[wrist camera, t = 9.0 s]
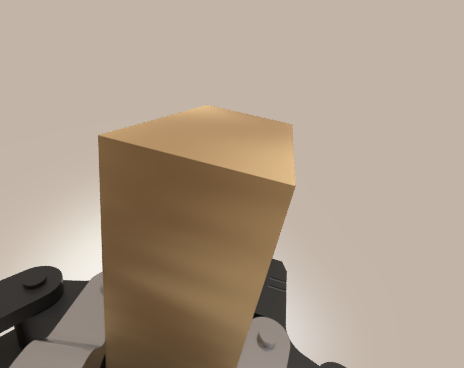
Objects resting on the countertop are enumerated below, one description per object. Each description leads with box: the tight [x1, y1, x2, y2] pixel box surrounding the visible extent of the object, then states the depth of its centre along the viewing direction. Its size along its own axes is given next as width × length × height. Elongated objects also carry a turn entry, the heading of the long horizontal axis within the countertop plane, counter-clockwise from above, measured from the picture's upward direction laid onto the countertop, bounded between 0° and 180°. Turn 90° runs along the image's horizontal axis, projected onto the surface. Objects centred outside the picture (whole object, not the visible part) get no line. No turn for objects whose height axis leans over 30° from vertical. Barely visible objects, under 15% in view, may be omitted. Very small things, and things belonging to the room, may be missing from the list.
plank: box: [98, 105, 295, 368], centre depth 9 cm, size 3×6×15 cm, turn 167°
